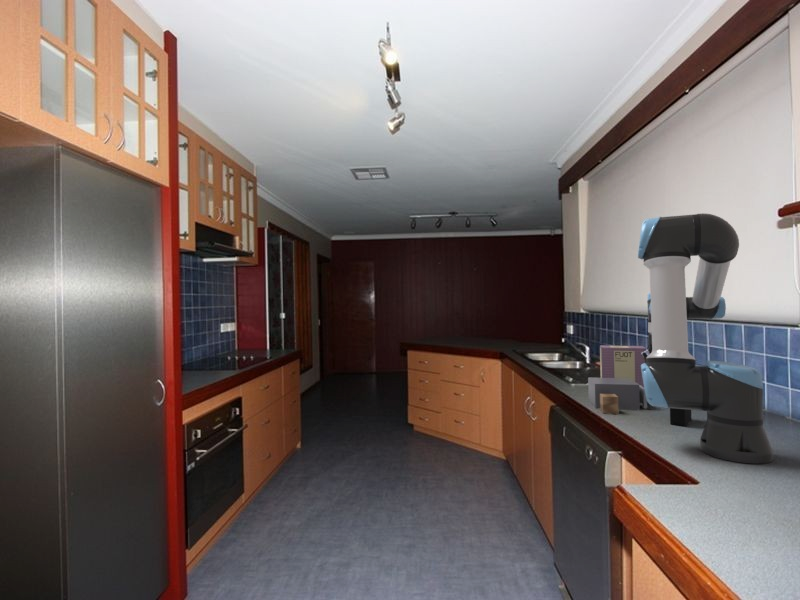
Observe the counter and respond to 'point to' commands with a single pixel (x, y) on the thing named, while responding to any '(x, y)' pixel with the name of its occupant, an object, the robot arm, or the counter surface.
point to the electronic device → (680, 416)
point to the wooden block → (609, 403)
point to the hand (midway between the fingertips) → (661, 396)
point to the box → (622, 362)
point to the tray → (642, 397)
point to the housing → (614, 391)
